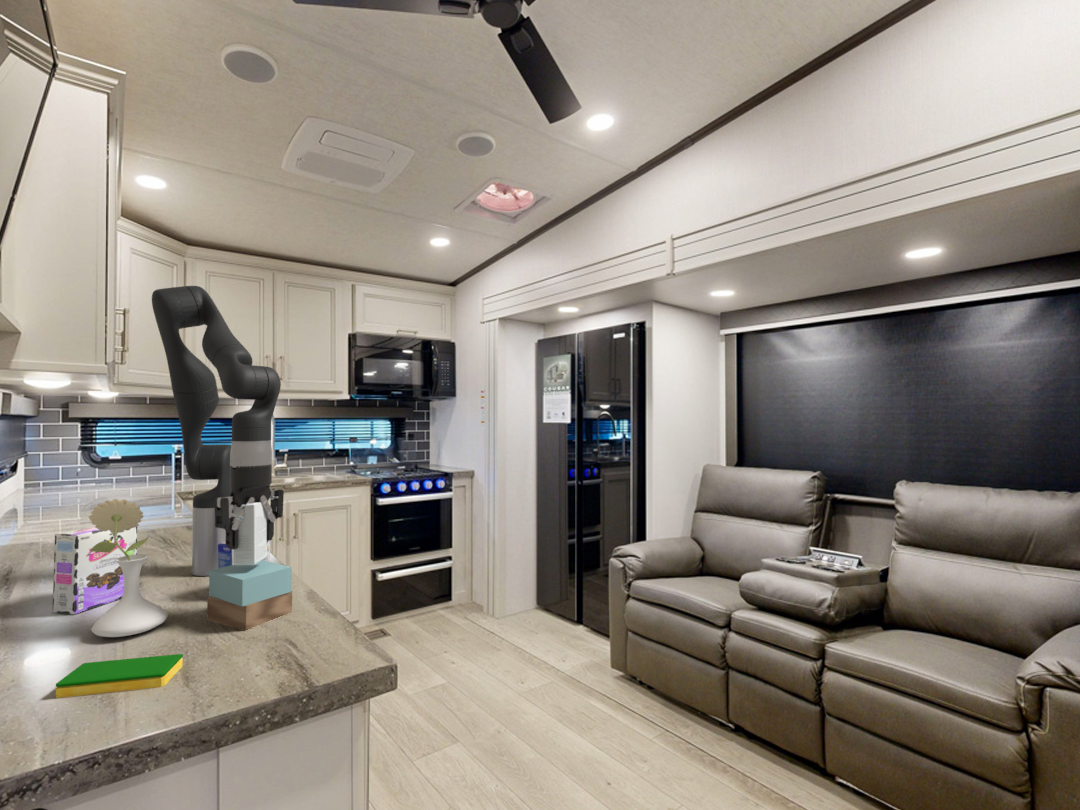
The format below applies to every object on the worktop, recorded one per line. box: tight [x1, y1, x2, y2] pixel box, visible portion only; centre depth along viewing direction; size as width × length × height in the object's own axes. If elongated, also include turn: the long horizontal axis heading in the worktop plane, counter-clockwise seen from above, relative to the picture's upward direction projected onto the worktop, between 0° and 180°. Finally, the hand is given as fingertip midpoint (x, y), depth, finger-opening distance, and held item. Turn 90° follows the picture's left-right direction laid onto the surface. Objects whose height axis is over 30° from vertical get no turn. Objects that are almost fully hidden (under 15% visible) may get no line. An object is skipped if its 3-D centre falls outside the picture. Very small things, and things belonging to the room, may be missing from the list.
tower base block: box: [206, 590, 293, 631], centre depth 108 cm, size 10×12×5 cm
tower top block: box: [208, 560, 292, 607], centre depth 108 cm, size 10×12×5 cm
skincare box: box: [233, 502, 267, 565], centre depth 108 cm, size 6×4×12 cm
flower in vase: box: [88, 498, 168, 638], centre depth 101 cm, size 13×11×25 cm
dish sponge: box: [55, 653, 184, 699], centre depth 81 cm, size 7×14×2 cm, turn 104°
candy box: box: [52, 526, 138, 615], centre depth 116 cm, size 14×6×16 cm, turn 168°
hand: (250, 544), depth 108 cm, fingers closed on skincare box, 7 cm apart
